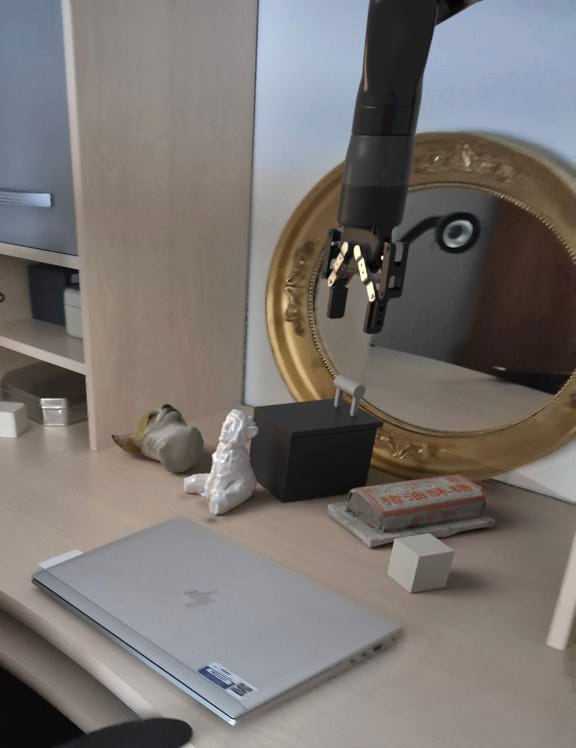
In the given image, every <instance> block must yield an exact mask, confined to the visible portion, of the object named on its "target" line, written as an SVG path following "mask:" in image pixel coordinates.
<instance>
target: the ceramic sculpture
mask: <svg viewBox="0 0 576 748" xmlns="http://www.w3.org/2000/svg"><path fill="white" fill-rule="evenodd" d="M110 437H111V439H112V441H113V442H114V444H115V445H117V446H118V447H119V448H120V449H122V450H123V451H124V452H127V453H129V454H142V455H144V456H146V457H148V458H149V459H152V460H154V461H157V462H160V464H161V465H162V468H164V469H165V470H166V471H167V472H172V473H173V472H174V473H184V472H186V471H187V470H189V469H191V468H193V467H194V466H196V465H197V463H198V462H199V461H200V458H201V457H202V454H203V449H204V444H205V440H204V439H203V438H204V437H203V435H202V432H201V431H200V430H199V428H198V427H197V426H193V425H192V426H190V425H189V426H188V424H187V422H186V420H185V419H184V418H183V415H182V413H181V412H180V410H179V409H177V408H175V407H173V406H172V405H171V404H169V403H164V404H163V405H162V407H161V408H157V409H152V410H149V411H147V412H146V413H144V414H143V415H142V416H141V418H140V419H139V421H138V425H137V429H136V430H135V433H134V432H128V433H124V434H122V435H119V434H111V435H110Z"/></svg>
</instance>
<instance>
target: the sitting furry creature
mask: <svg viewBox="0 0 576 748" xmlns="http://www.w3.org/2000/svg"><path fill="white" fill-rule="evenodd" d="M255 424H256V423H255V422H253V416H251V415H249V414H247V413H246V412H244V411H243V410H238V409H237V408H235V409H232V410H231V411H230V412H229V413H228V414H227V416H225V421H224V422H223V423H222V428H221V431H220V436H219V437H218V441H219V443H218V445H217V446H216V451H214V453H212V455H211V457H212V459H211V460H212V465H211V470H210V472H208V473H194V474H192V475H189V476H187V477H184V478H183V490H184V492H185V493H186V494H197V495H199V496H201V497H203V498H204V499H205V500H206V501H209V503H208V510H209V513H210V515H213V516H217V515H218V516H219V515H222V514H227V513H228V511H231V510H232V509H234V508H236V507H238V506H239V505H241V504H242V503H243V502H245V501H247V500H248V499H249V498H250V497H252V496H253V492H254V490H255V489H256V486H257V484H258V482H257V480H256V477H255V473H254V472H253V468H252V467H251V463H250V456H249V450H248V449H247V447H246V446H245V445H247V444H248V443H249V442H251V438H253V437H255V435H257V434H258V427H255Z"/></svg>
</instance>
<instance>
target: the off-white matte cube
mask: <svg viewBox="0 0 576 748" xmlns="http://www.w3.org/2000/svg"><path fill="white" fill-rule="evenodd" d="M390 553H391V555H390V557H389V562H388V567H387V572H386V574H387V576H388V577H389V578H391V579H392V580H393V581H395V582H396V583H397V584H398V585H400V586H401V587H402V588H403V589H404V590H405V591H407V592H408V593H410V594H414V593H419V592H424V591H426V592H427V591H431V590H436V589H442V588H446V586H447V583H448V582H447V581H448V578H449V575H450V571H451V567H452V564H453V560H454V557H455V553H456V550H454V549H453V548H452V547H450V546H449V545H448V544H446V543H444V542H443V541H441V540H440V539H439V538H438V537H434V536H433V535H431V534H430V533H427V534H421V535H414V536H408V537H402V538H395V539H394V541H393V544H392V549H391V552H390Z"/></svg>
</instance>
